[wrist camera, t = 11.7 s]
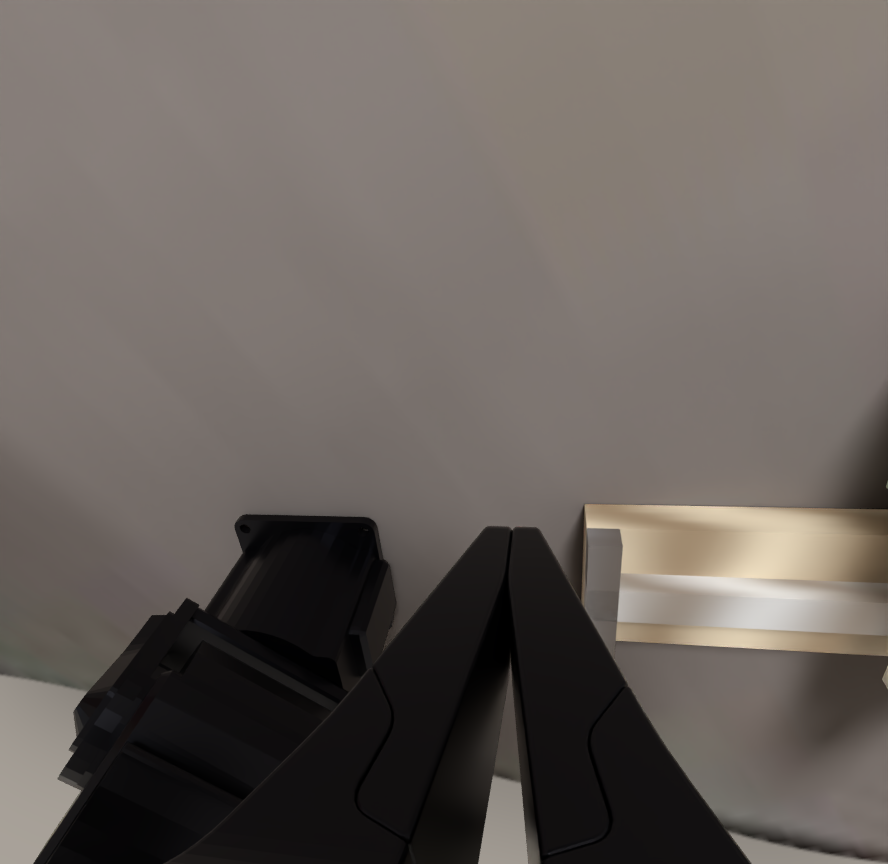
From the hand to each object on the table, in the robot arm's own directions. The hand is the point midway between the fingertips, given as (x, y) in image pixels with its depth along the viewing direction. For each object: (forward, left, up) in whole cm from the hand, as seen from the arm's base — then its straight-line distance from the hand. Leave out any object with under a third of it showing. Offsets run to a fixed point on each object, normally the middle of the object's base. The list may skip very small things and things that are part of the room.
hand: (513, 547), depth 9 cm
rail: (+11, -11, -12) cm, 20 cm away
